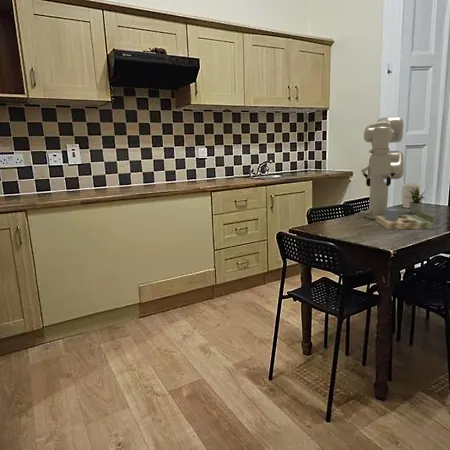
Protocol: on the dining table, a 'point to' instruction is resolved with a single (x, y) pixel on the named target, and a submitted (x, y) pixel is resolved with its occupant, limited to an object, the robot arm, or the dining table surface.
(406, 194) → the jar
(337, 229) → the dining table surface
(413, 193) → the house plant
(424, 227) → the board
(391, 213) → the block
